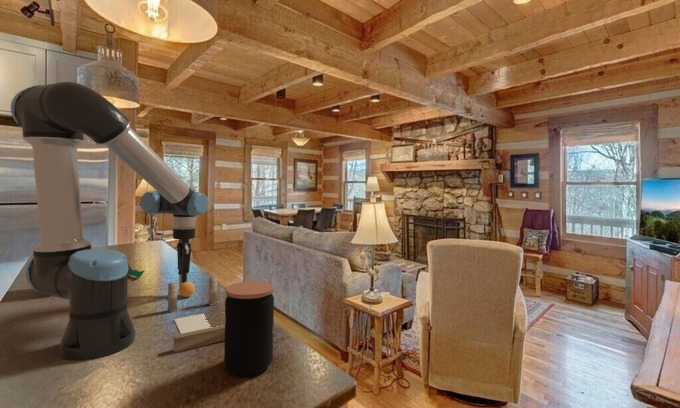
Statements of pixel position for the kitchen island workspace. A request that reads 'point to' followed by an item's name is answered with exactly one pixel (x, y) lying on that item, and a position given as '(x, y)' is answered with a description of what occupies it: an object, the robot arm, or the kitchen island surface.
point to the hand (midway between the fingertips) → (183, 290)
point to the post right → (212, 290)
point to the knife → (134, 272)
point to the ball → (186, 289)
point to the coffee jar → (248, 327)
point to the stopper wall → (198, 338)
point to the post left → (172, 297)
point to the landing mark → (192, 323)
